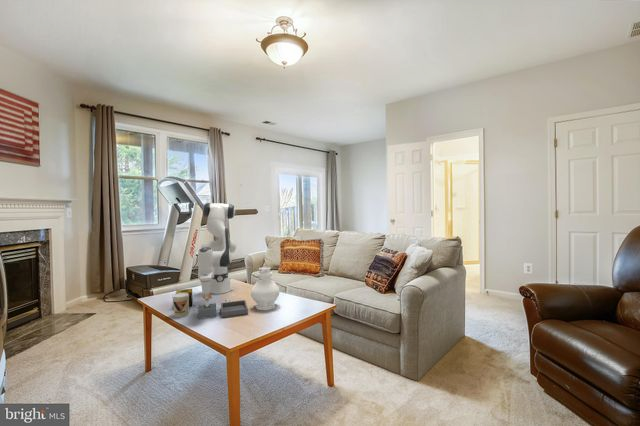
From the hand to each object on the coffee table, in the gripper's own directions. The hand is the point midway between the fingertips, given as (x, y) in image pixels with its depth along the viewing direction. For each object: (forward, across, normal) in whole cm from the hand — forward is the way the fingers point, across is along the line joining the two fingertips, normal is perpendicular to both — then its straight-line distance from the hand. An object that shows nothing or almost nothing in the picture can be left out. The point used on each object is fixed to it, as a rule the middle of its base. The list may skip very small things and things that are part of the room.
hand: (206, 297), depth 183 cm
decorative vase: (+10, -1, +35) cm, 37 cm away
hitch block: (+10, 0, 0) cm, 10 cm away
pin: (+10, 0, 0) cm, 10 cm away
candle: (+11, -24, -15) cm, 30 cm away
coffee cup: (+11, -7, -15) cm, 20 cm away
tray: (+10, 0, +16) cm, 19 cm away
